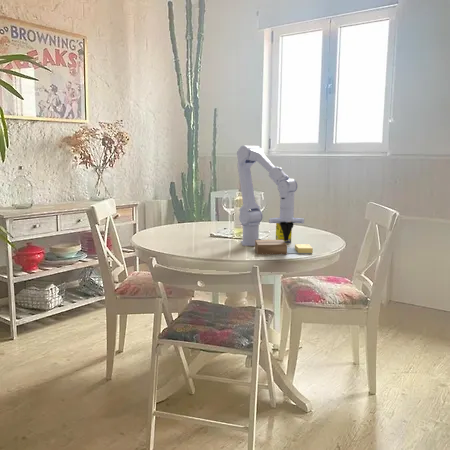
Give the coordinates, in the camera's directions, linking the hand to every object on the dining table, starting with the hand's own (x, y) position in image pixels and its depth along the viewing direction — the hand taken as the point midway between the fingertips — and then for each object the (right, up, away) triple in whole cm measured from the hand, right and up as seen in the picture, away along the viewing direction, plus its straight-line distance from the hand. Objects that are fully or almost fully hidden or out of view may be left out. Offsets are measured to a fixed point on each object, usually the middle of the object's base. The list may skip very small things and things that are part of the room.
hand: (286, 240), depth 204 cm
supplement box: (+2, -2, +22) cm, 22 cm away
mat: (+5, -5, +2) cm, 7 cm away
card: (+8, -3, +1) cm, 8 cm away
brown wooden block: (-6, -5, +1) cm, 8 cm away
